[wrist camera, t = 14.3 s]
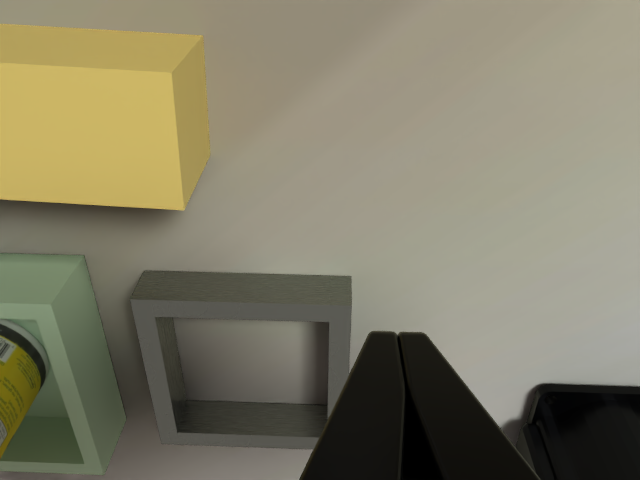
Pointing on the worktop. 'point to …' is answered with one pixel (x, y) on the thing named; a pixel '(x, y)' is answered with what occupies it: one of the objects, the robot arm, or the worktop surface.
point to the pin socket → (247, 304)
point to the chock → (101, 116)
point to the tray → (62, 368)
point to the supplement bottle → (18, 377)
